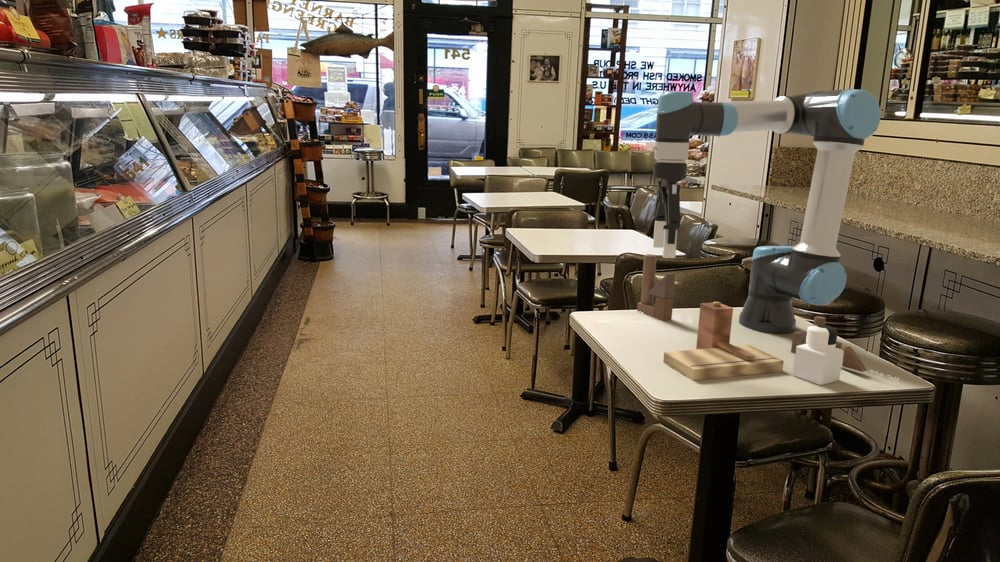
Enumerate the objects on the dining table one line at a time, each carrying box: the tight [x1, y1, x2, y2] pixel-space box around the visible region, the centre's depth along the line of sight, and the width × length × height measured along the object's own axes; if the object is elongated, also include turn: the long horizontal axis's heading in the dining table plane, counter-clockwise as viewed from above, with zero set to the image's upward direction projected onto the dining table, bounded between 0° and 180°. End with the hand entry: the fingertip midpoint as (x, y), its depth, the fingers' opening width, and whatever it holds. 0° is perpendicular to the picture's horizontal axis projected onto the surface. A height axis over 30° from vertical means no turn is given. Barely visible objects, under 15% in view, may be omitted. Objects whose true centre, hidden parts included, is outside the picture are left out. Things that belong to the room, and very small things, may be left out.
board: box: [662, 344, 785, 381], centre depth 158 cm, size 24×12×3 cm, turn 109°
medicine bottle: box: [792, 324, 845, 386], centre depth 152 cm, size 7×7×12 cm
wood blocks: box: [790, 315, 900, 382], centre depth 161 cm, size 25×3×10 cm, turn 38°
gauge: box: [695, 301, 755, 360], centre depth 162 cm, size 5×17×13 cm, turn 19°
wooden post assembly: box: [636, 253, 677, 322], centre depth 197 cm, size 4×11×18 cm, turn 32°
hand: (663, 252), depth 162 cm, fingers open, 13 cm apart
